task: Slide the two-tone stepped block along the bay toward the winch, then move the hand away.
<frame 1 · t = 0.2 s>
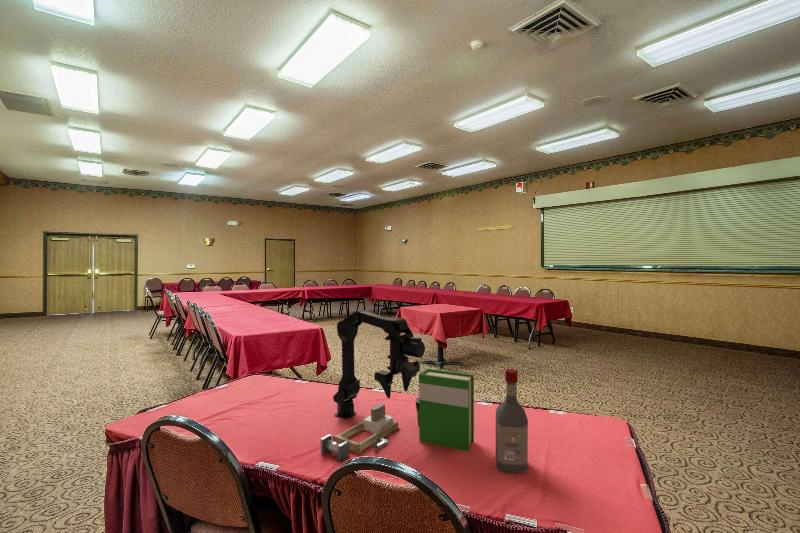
hand: (397, 394, 144), 14 cm above the table, tool pointing down, fingers open, 9 cm apart
hardback book: (446, 442, 138), on the table
two-tone stepped block: (378, 417, 148), point 4 cm above the table, slide at 0.0 cm
liquor: (511, 466, 122), on the table
crank handle: (380, 446, 135), on the table
winch: (334, 454, 129), on the table
coffee mug: (427, 424, 152), on the table
bay: (368, 434, 143), on the table
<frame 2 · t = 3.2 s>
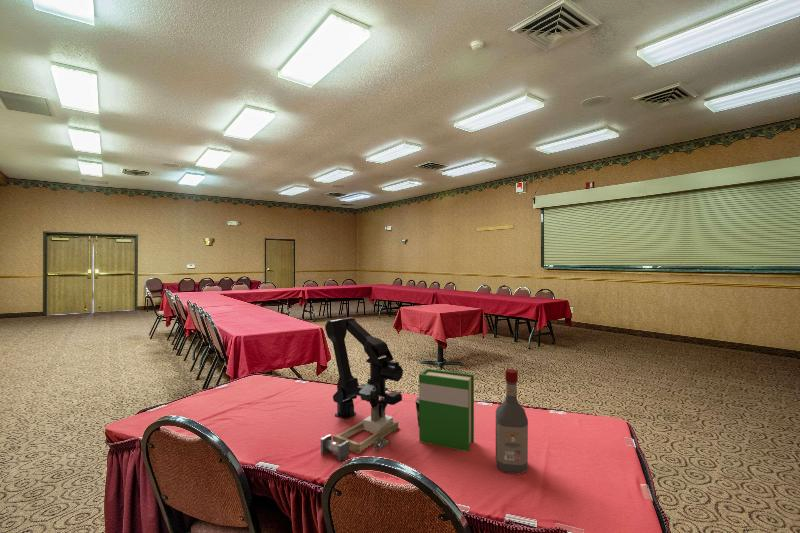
hand: (378, 416, 148), 5 cm above the table, tool pointing down, fingers closed on two-tone stepped block, 2 cm apart
two-tone stepped block: (378, 417, 148), point 4 cm above the table, slide at 0.0 cm, touching gripper
everything else where it was.
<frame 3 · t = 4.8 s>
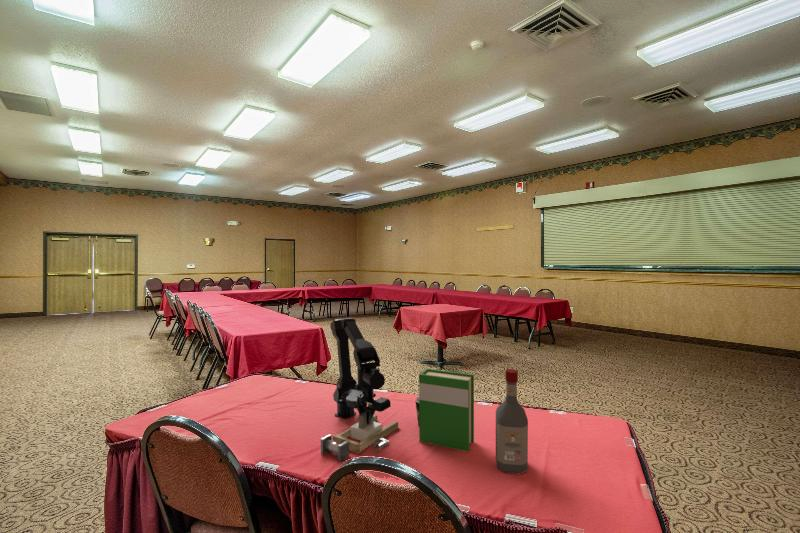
hand: (366, 423, 142), 5 cm above the table, tool pointing down, fingers closed on two-tone stepped block, 2 cm apart
two-tone stepped block: (366, 424, 142), point 4 cm above the table, slide at 7.1 cm, touching gripper
everything else where it was.
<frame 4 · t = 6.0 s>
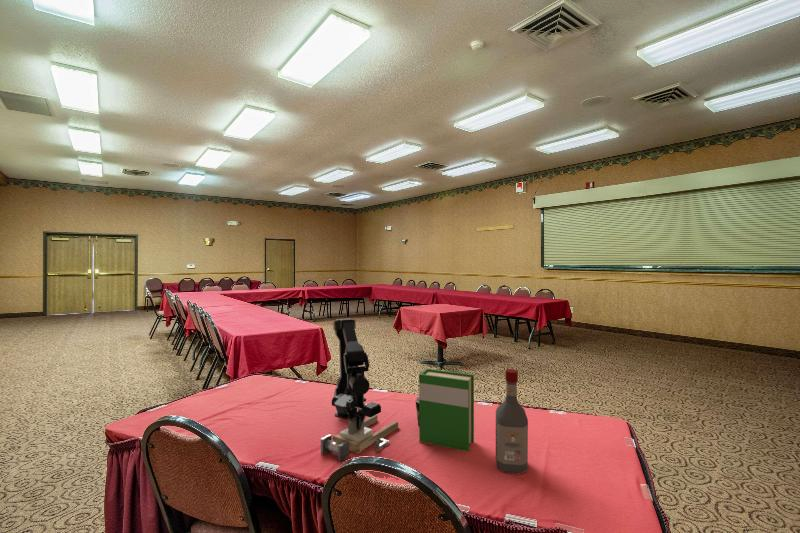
hand: (356, 428, 138), 5 cm above the table, tool pointing down, fingers closed on two-tone stepped block, 2 cm apart
two-tone stepped block: (356, 430, 138), point 4 cm above the table, slide at 12.4 cm, touching gripper
everything else where it was.
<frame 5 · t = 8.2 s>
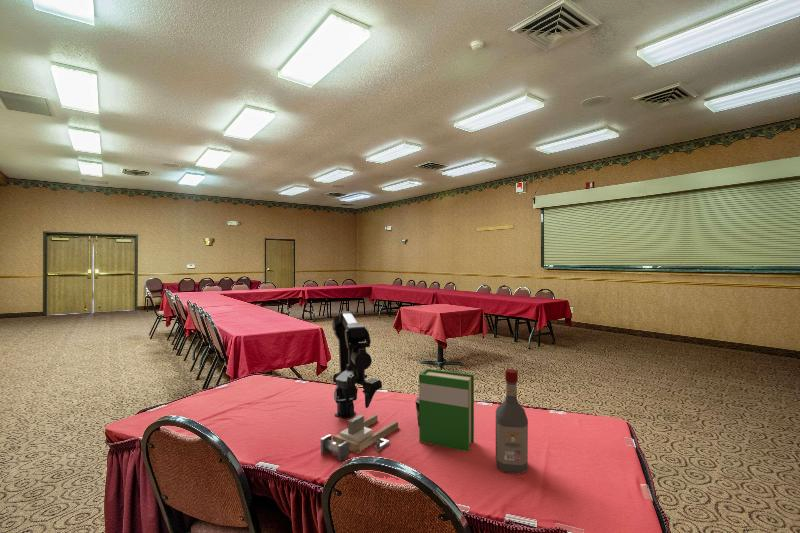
hand: (357, 404, 139), 13 cm above the table, tool pointing down, fingers open, 9 cm apart
two-tone stepped block: (356, 430, 138), point 4 cm above the table, slide at 12.4 cm
everything else where it was.
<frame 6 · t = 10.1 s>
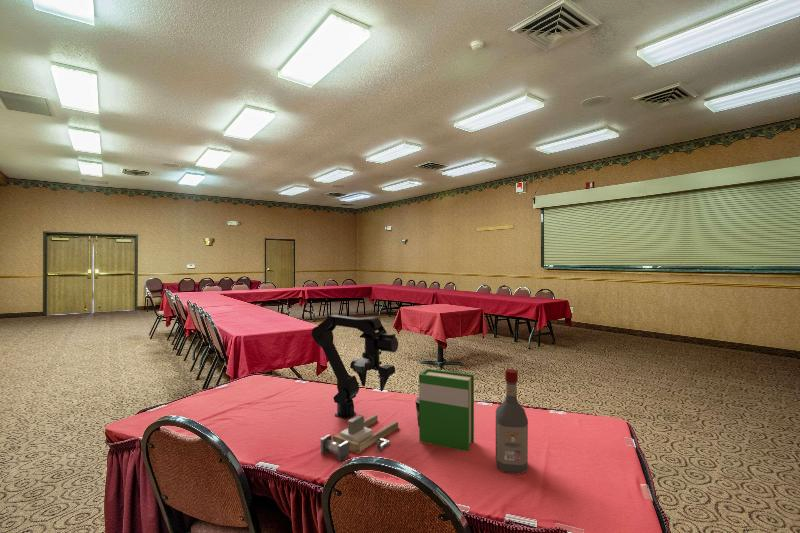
hand: (372, 388, 154), 13 cm above the table, tool pointing down, fingers open, 9 cm apart
nothing on the table moved.
at the end: two-tone stepped block slide at 12.4 cm; the gripper is holding nothing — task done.
